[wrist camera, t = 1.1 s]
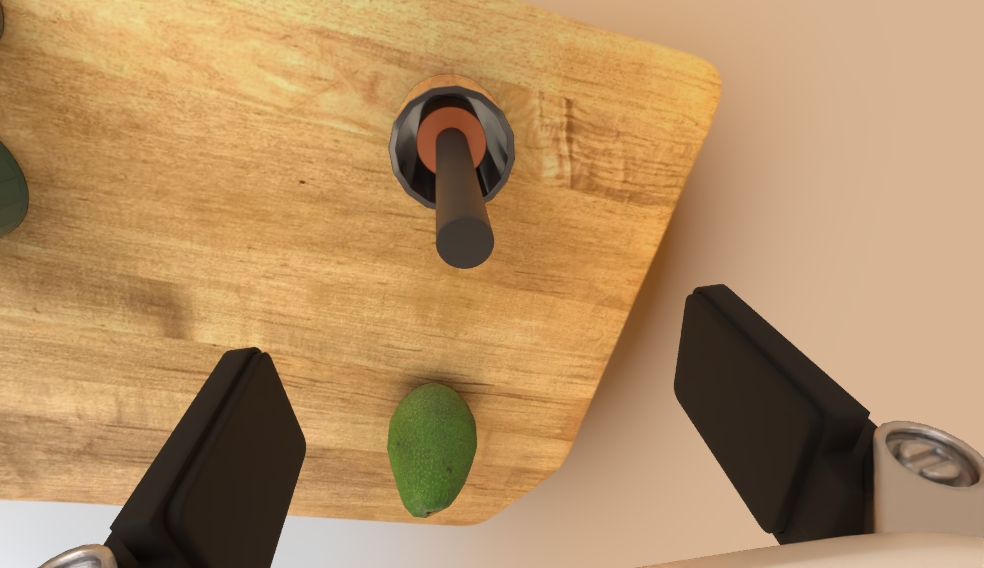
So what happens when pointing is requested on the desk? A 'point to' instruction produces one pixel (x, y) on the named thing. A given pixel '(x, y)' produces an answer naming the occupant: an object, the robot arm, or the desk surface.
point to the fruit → (431, 448)
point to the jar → (11, 193)
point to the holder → (405, 128)
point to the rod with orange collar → (456, 180)
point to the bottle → (1, 21)
